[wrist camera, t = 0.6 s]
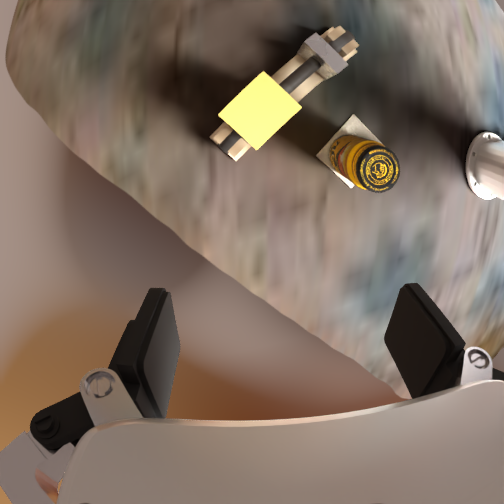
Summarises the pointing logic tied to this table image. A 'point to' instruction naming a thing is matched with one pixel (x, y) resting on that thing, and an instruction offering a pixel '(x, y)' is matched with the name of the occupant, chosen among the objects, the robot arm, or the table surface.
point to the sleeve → (259, 110)
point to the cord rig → (290, 85)
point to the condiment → (360, 158)
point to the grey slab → (322, 56)
